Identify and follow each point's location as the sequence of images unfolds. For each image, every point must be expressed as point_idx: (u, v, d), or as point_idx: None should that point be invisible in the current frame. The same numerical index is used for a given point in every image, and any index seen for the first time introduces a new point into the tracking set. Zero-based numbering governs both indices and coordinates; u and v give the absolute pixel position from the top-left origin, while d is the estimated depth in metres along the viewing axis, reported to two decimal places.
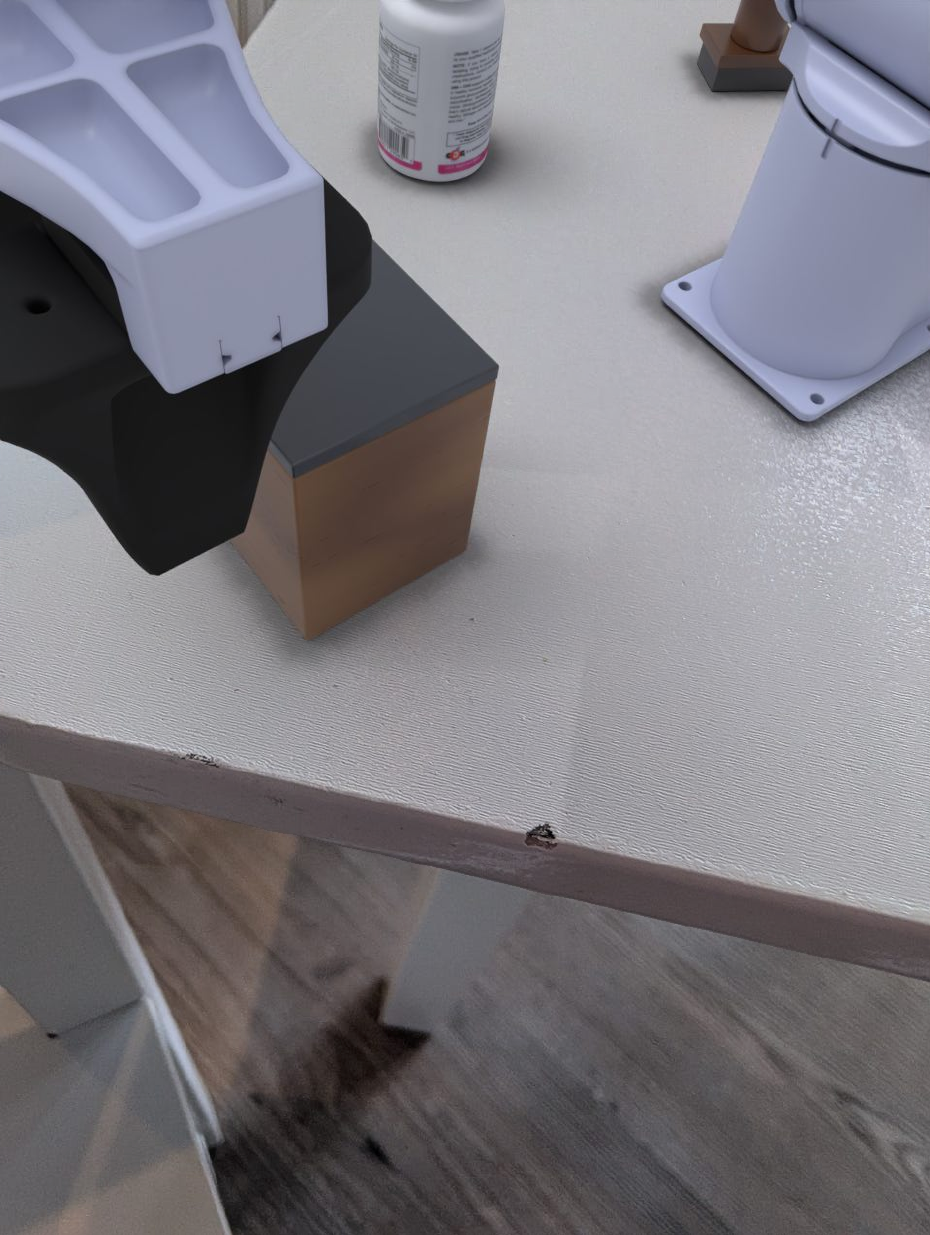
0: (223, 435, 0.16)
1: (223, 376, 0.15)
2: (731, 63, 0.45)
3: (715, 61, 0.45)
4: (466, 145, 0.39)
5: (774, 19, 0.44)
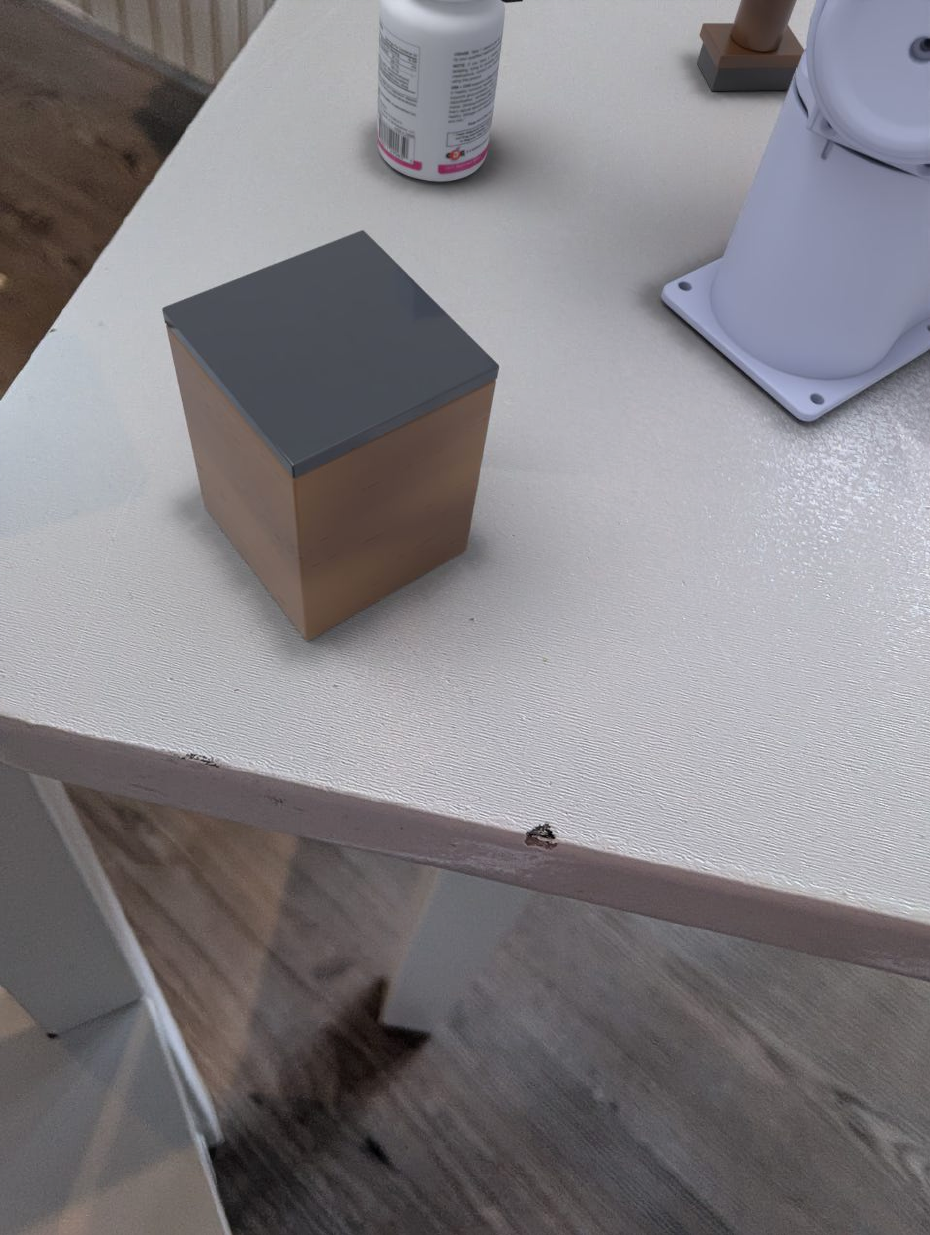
0: None
1: None
2: (731, 63, 0.45)
3: (715, 61, 0.45)
4: (466, 145, 0.39)
5: (774, 19, 0.44)
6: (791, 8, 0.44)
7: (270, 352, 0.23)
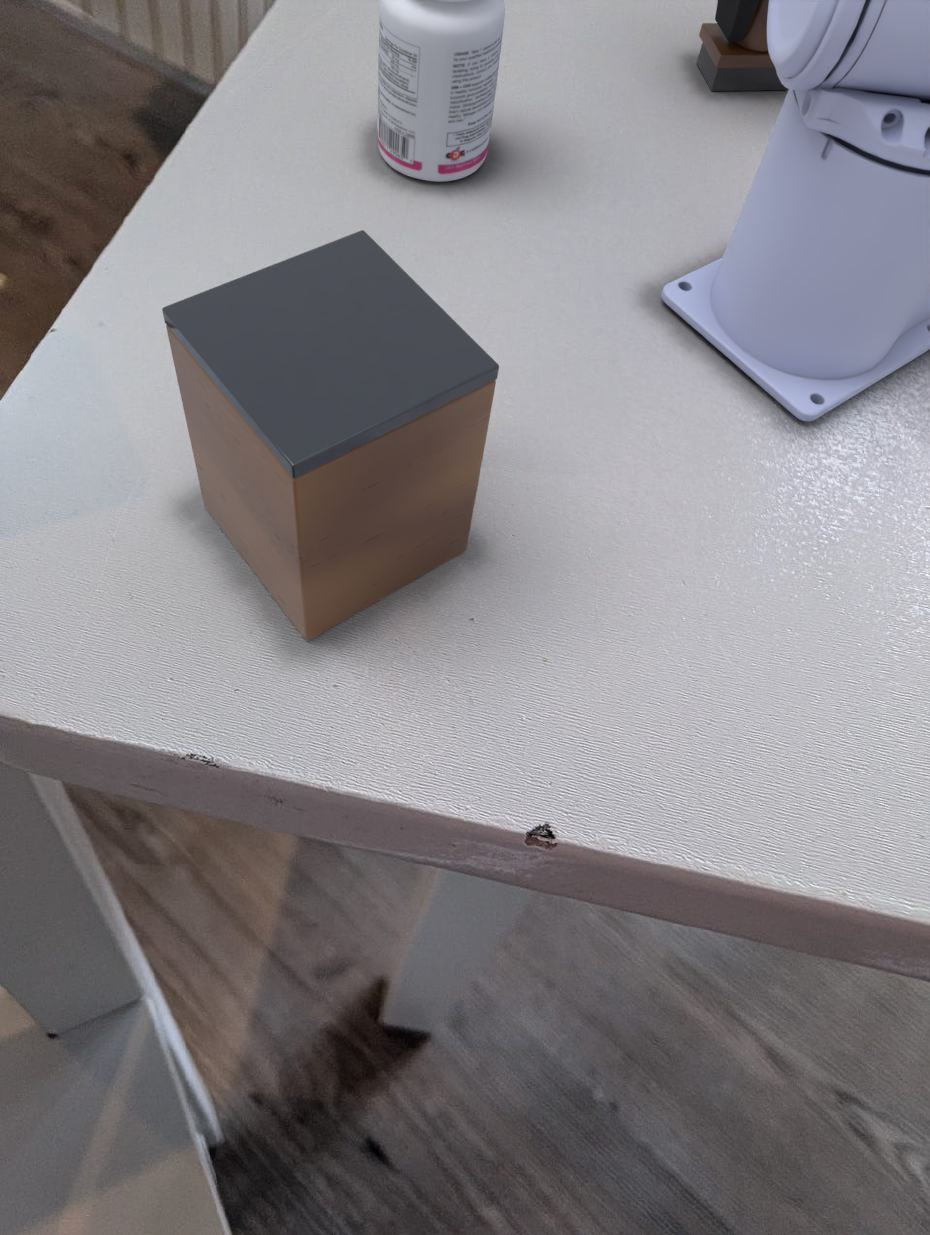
0: None
1: None
2: (730, 63, 0.45)
3: (714, 61, 0.45)
4: (466, 145, 0.39)
5: None
6: None
7: (270, 352, 0.23)
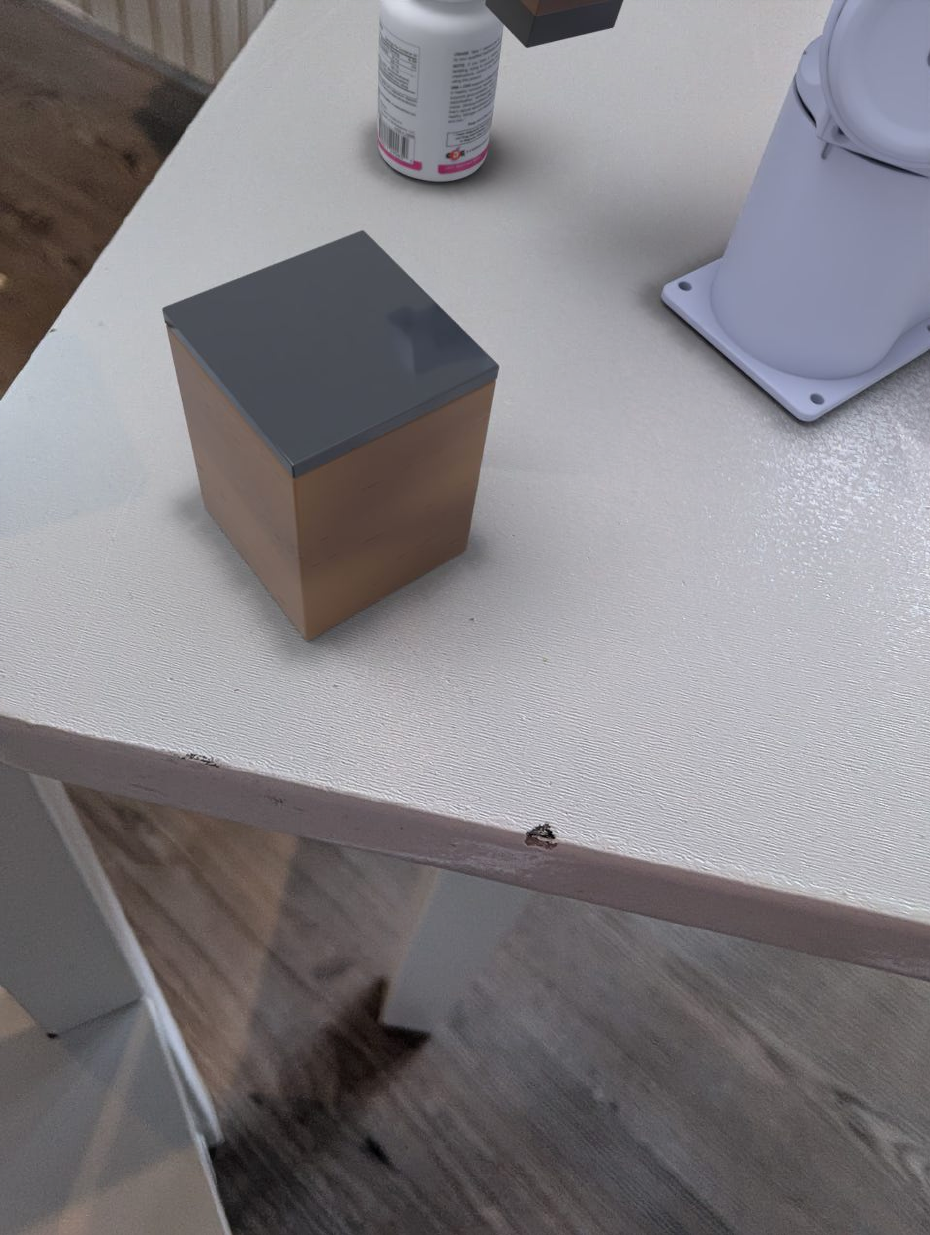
0: None
1: None
2: (552, 7, 0.31)
3: (529, 6, 0.30)
4: (466, 145, 0.39)
5: None
6: None
7: (270, 352, 0.23)
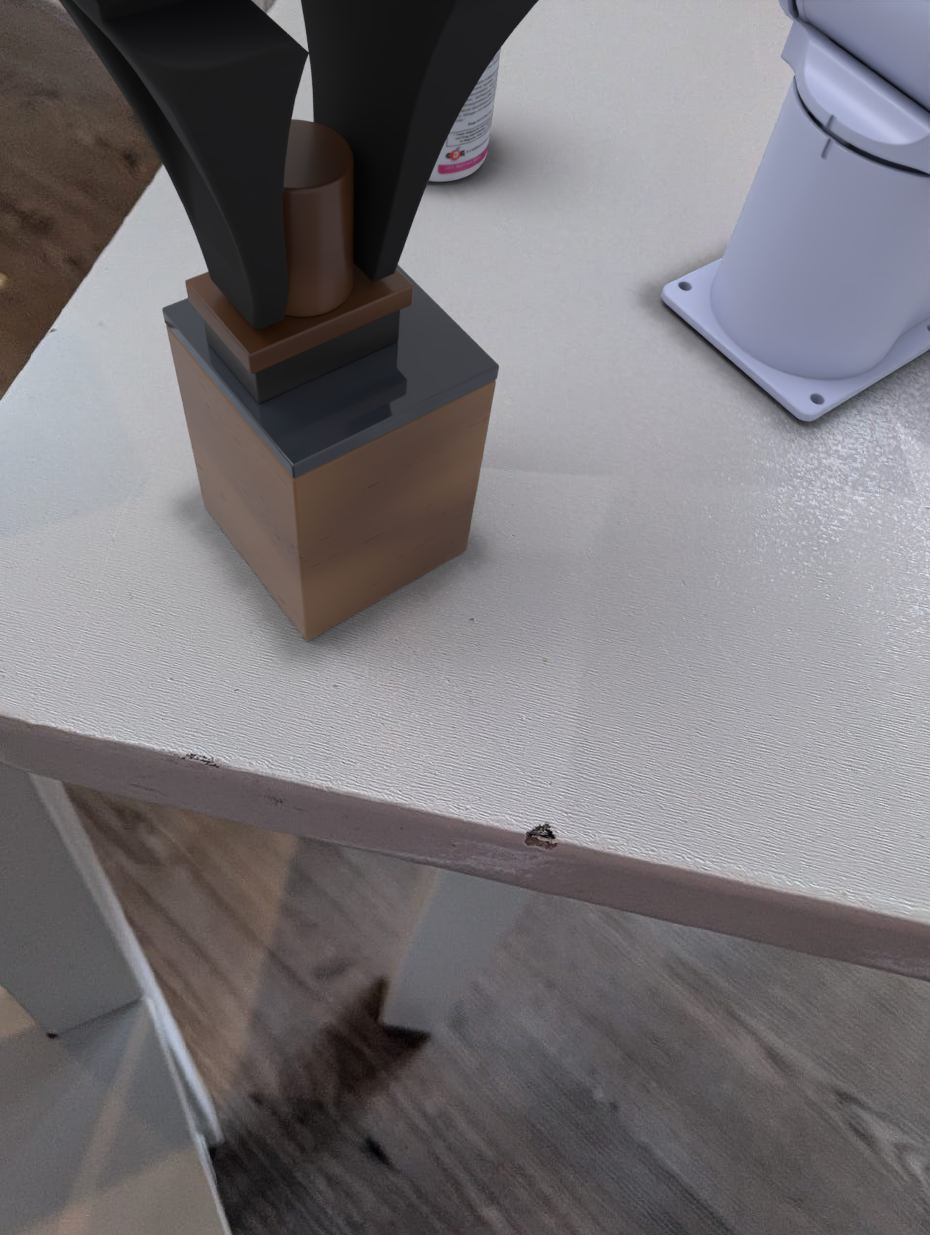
0: None
1: None
2: (274, 357, 0.21)
3: (241, 361, 0.21)
4: (466, 145, 0.39)
5: (325, 258, 0.20)
6: (350, 226, 0.20)
7: None
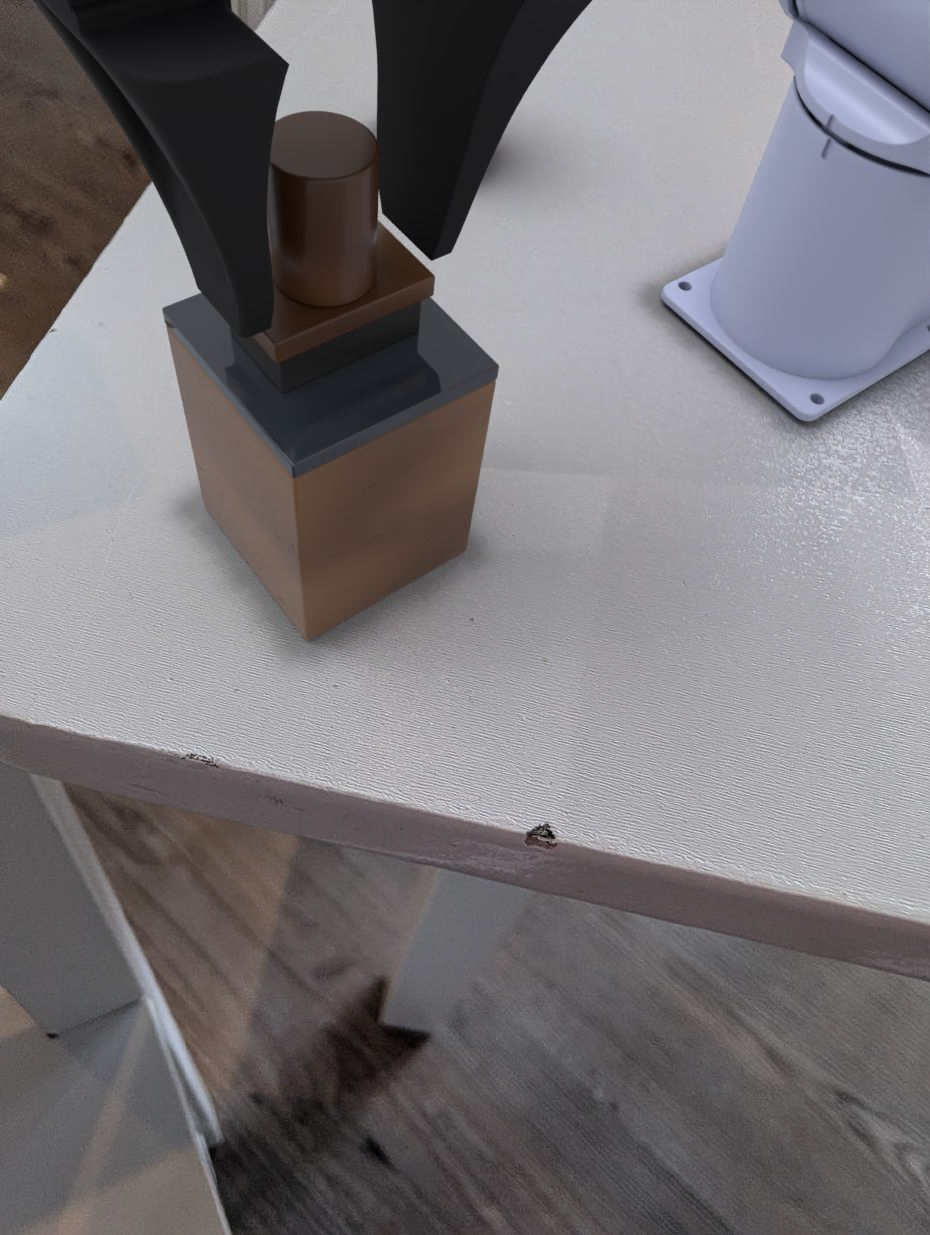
0: None
1: None
2: (299, 347, 0.21)
3: (266, 350, 0.21)
4: None
5: (350, 248, 0.21)
6: (375, 216, 0.21)
7: None
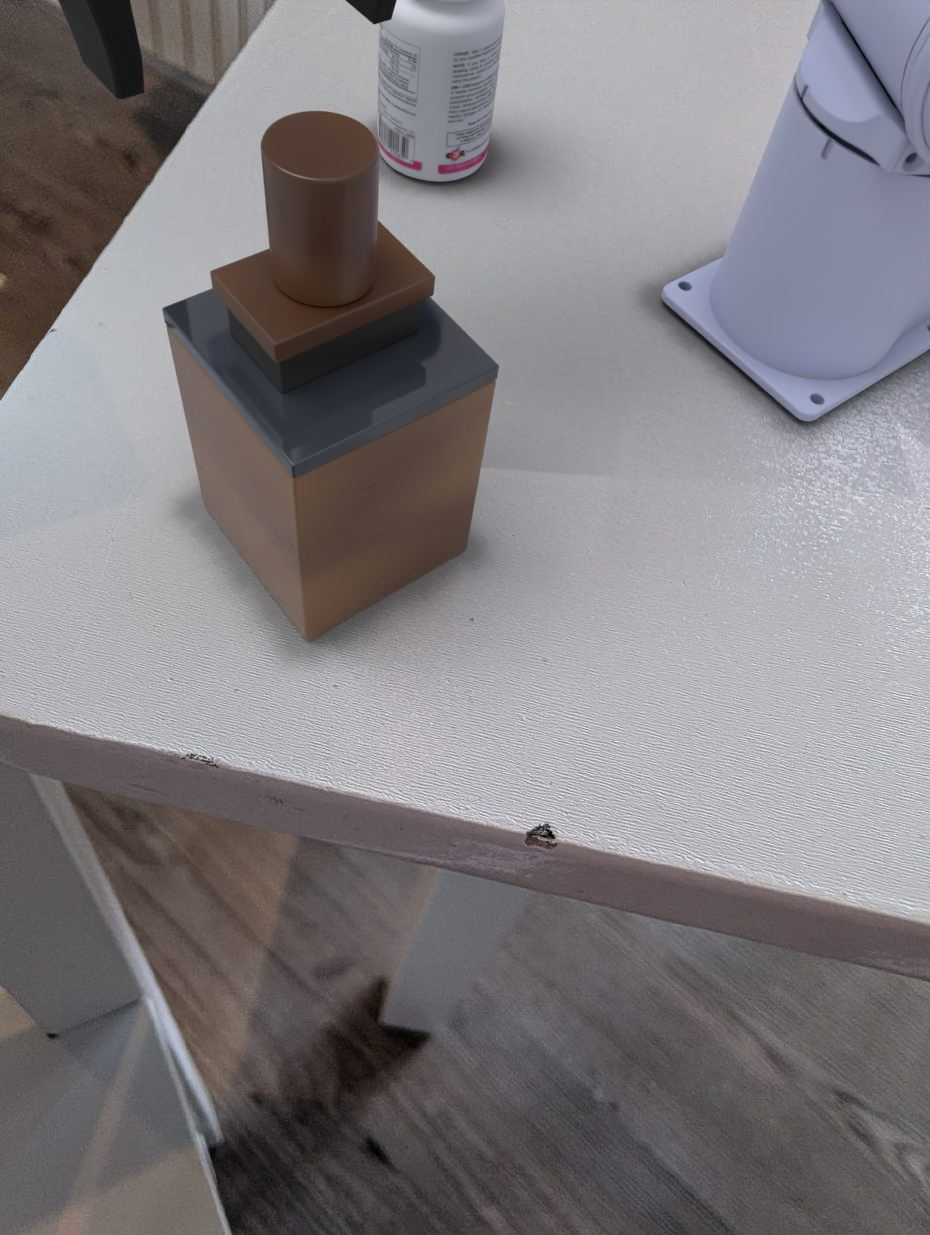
0: None
1: None
2: (299, 347, 0.21)
3: (266, 350, 0.21)
4: (466, 145, 0.39)
5: (350, 248, 0.21)
6: (375, 216, 0.21)
7: None
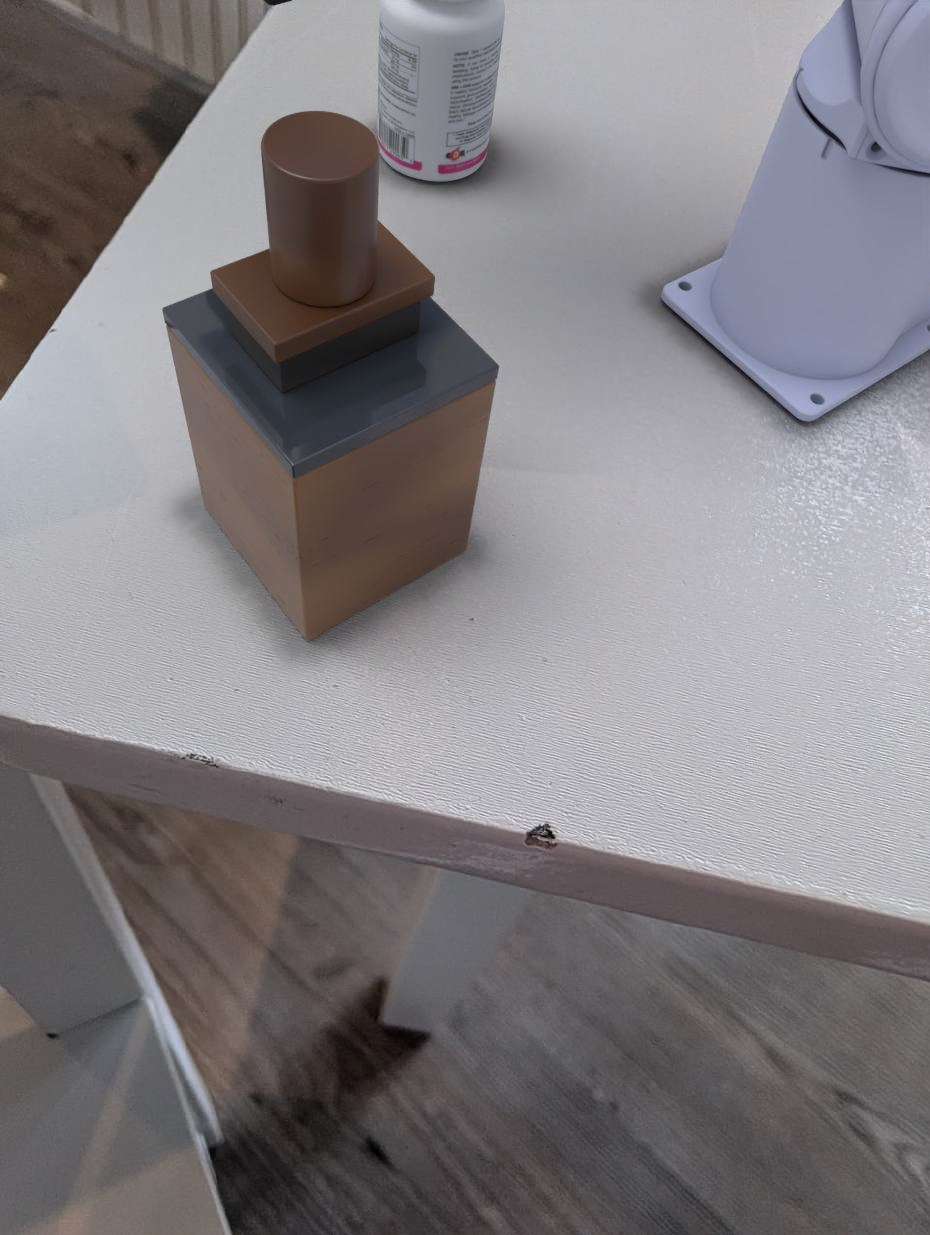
0: None
1: None
2: (299, 347, 0.21)
3: (266, 350, 0.21)
4: (466, 145, 0.39)
5: (350, 248, 0.21)
6: (375, 216, 0.21)
7: None
